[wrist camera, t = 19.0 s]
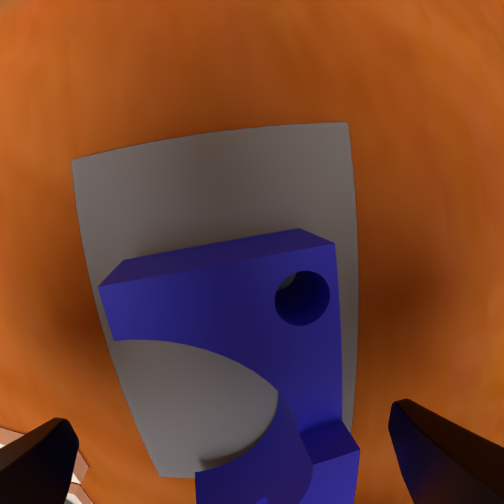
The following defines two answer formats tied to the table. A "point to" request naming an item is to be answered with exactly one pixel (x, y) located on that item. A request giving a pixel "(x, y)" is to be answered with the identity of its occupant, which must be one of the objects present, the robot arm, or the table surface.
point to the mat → (207, 232)
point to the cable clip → (255, 353)
